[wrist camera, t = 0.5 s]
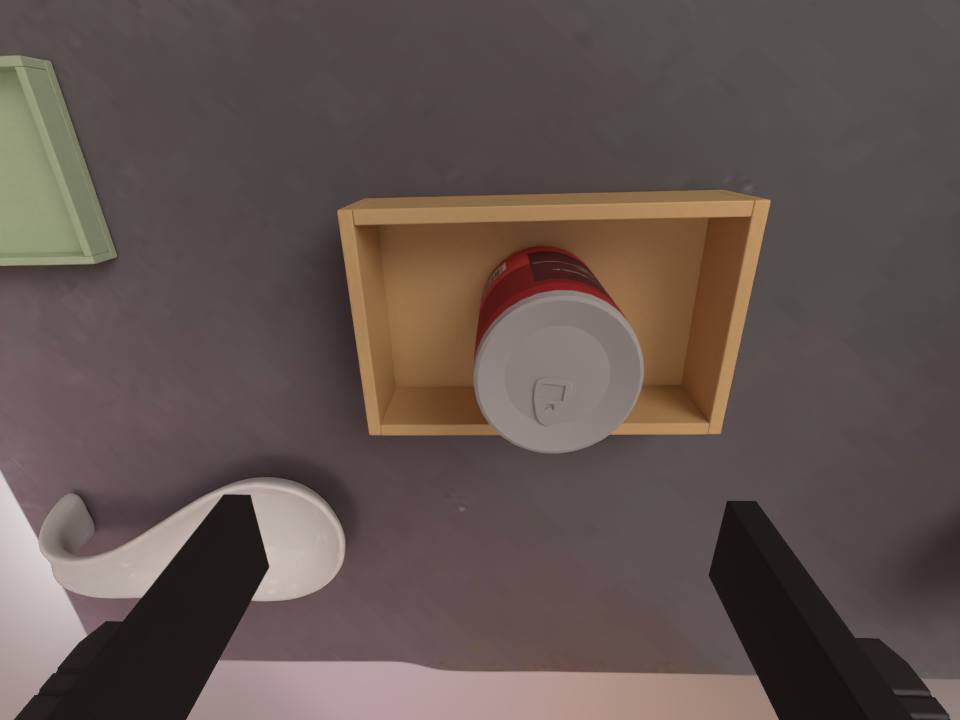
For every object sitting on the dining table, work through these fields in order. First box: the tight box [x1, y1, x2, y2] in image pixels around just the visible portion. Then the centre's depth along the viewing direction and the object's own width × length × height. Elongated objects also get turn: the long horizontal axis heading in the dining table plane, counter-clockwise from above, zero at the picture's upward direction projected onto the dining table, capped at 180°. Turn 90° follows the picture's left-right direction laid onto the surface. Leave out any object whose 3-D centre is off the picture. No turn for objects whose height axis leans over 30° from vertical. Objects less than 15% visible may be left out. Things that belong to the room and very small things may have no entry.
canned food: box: [473, 246, 644, 453], centre depth 26 cm, size 8×8×11 cm
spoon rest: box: [39, 477, 345, 601], centre depth 37 cm, size 24×12×7 cm, turn 92°
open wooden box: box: [337, 190, 770, 435], centre depth 29 cm, size 22×14×6 cm, turn 92°
